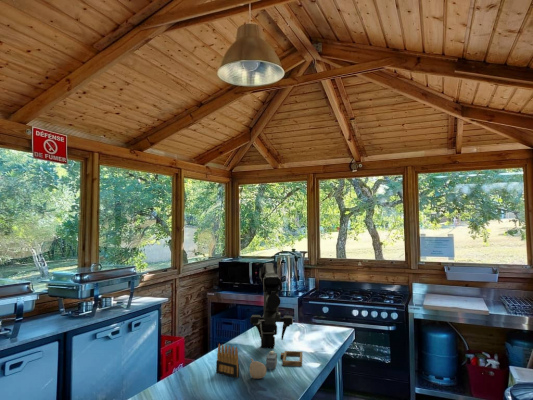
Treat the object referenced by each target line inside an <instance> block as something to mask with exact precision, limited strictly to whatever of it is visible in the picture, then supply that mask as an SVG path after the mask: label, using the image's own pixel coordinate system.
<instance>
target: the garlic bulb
mask: <svg viewBox="0 0 533 400" xmlns="http://www.w3.org/2000/svg"><path fill="white" fill-rule="evenodd" d="M250 360H251V363H250V364H249V375H250V377H251V378H252V379H256V380H257V379H259V380H260V379H263V378H264V377H266V376H267V375H266V374H267V368H266V364H264V363H262V362H260V361H255V360H254V359H253V358H250Z"/></svg>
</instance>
